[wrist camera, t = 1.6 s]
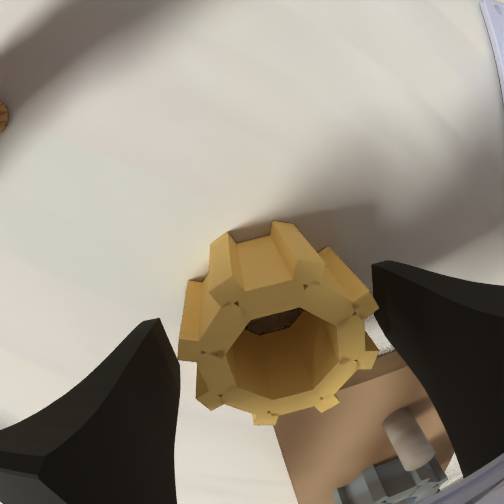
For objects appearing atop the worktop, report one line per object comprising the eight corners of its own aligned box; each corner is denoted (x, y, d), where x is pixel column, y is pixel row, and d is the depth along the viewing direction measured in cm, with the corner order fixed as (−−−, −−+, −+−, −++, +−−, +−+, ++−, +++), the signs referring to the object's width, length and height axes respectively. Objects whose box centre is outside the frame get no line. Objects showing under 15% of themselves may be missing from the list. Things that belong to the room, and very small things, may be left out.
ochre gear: (329, 207, 11) (375, 239, 7) (344, 337, 13) (378, 394, 9) (169, 246, 11) (150, 295, 7) (213, 371, 13) (215, 437, 9)
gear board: (484, 311, 14) (534, 354, 10) (438, 462, 19) (458, 497, 15) (264, 390, 13) (280, 467, 9) (302, 512, 19) (312, 554, 15)
